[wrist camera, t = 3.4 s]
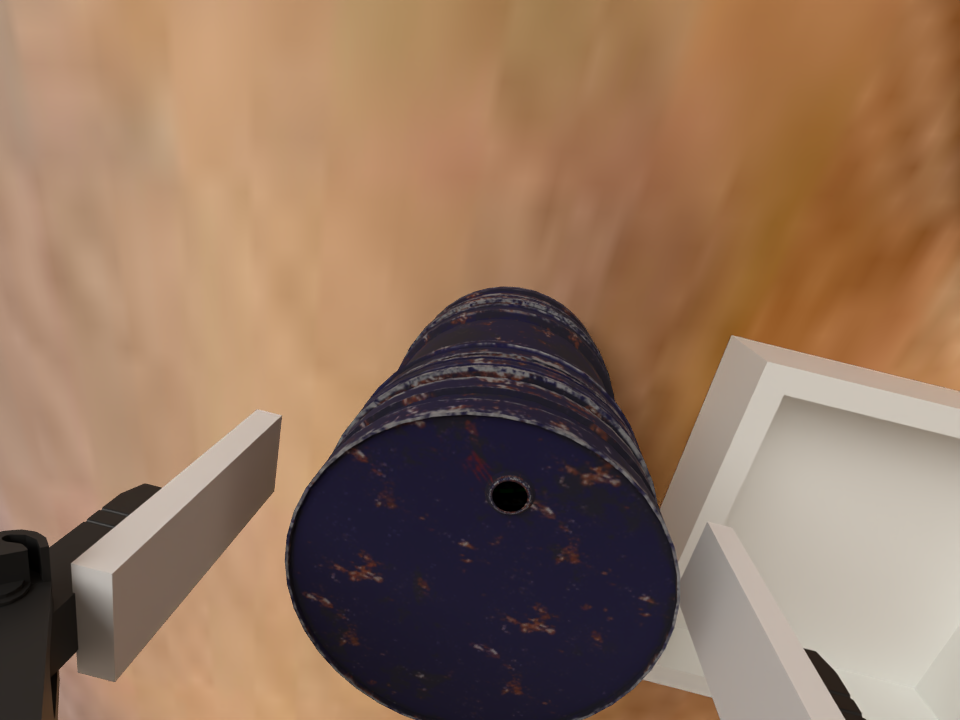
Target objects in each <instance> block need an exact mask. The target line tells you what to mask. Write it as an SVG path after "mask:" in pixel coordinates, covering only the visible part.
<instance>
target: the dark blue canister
mask: <svg viewBox="0 0 960 720" xmlns="http://www.w3.org/2000/svg"><path fill="white" fill-rule="evenodd" d="M285 568H286V578H287V586H288V589H289V593H290V596H291V600H292V603H293V607H294V610H295V612H296V614H297V616H298V618H299V620H300V622H301V624H302V626H303V629H304V631H305V632H306V634H307V635H308V637H309V638H310V640H311V641H312V643H313V644H314V646H315V647H316V649H317V650H318V652H319V653H320V654H321V655H322V656H323V657H324V658H325V659H326V661H327V662H328V663H329V664H330V665H331V666H332V667H333V668H334V669H335V671H336V672H338V673H339V674H340V675H341V676H342V677H343V678H345V679H346V680H347V681H348V682H349V683H351V684H352V685H353V686H354V687H355V688H356V689H358V690H360V691H361V692H363V693H364V694H366V695H367V696H369V697H370V698H372V699H373V700H375V701H376V702H378V703H379V704H381V705H383V706H385V707H387V708H389V709H391V710H393V711H395V712H397V713H399V714H401V715H404V716H406V717H409V718H412V719H415V720H583V719H585V718H588V717H590V716H592V715H594V714H596V713H598V712H600V711H601V710H603V709H605V708H607V707H609V706H611V705H613V704H614V703H615V702H617V701H618V700H619V699H621V698H622V697H623V696H625V695H626V694H627V693H629V692H630V691H631V690H633V689H634V688H635V687H636V686H637V685H638V684H639V683H640V682H641V681H642V679H643V678H644V677H645V676H646V675H647V674H648V673H649V672H650V671H651V670H652V668H653V667H654V665H655V664H656V662H657V661H658V659H659V658H660V656H661V655H662V653H663V652H664V650H665V649H666V646H667V644H668V642H669V639H670V637H671V634H672V632H673V630H674V627H675V624H676V619H677V614H678V609H679V604H680V571H679V566H678V561H677V556H676V551H675V547H674V544H673V542H672V539H671V537H670V534H669V532H668V529H667V527H666V524H665V522H664V519H663V517H662V514H661V512H660V509H659V507H658V504H657V499H656V494H655V489H654V484H653V481H652V479H651V476H650V474H649V471H648V469H647V466H646V464H645V461H644V459H643V457H642V454H641V452H640V449H639V446H638V443H637V441H636V438H635V436H634V433H633V431H632V428H631V426H630V424H629V422H628V421H627V419H626V417H625V416H624V414H623V413H622V411H621V409H620V408H619V406H618V405H617V404H616V402H615V399H614V394H613V390H612V386H611V382H610V378H609V374H608V371H607V369H606V366H605V364H604V361H603V359H602V356H601V354H600V352H599V350H598V349H597V347H596V345H595V344H594V342H593V340H592V339H591V336H590V335H589V333H588V332H587V330H586V328H585V327H584V325H583V324H582V323H581V322H580V320H579V319H578V318H577V317H576V316H575V315H574V314H573V313H572V312H571V311H570V310H568V309H567V308H566V307H565V306H564V305H562V304H561V303H559V302H557V301H556V300H554V299H552V298H551V297H549V296H546V295H544V294H541V293H539V292H536V291H533V290H528V289H524V288H519V287H495V288H487V289H483V290H479V291H476V292H473V293H470V294H468V295H466V296H464V297H461V298H459V299H458V300H456V301H455V302H453V303H452V304H450V305H449V306H447V307H446V308H445V309H444V310H443V311H442V312H441V313H440V314H439V315H437V317H436V318H435V319H434V320H433V321H432V322H431V323H430V324H428V325H427V326H426V327H425V328H424V330H423V331H422V332H421V334H420V335H419V336H418V337H417V339H416V340H415V341H414V343H413V344H412V345H411V347H410V348H409V350H408V352H407V354H406V356H405V358H404V359H403V361H402V363H401V365H400V367H399V369H398V371H397V372H395V373H394V374H393V375H392V376H391V377H389V378H388V379H387V380H386V381H385V382H384V383H383V384H382V385H381V386H380V387H378V389H377V390H376V391H375V393H374V394H373V395H372V396H371V398H370V399H369V400H368V401H367V403H366V404H365V406H364V407H363V409H362V410H361V411H360V412H359V414H358V415H357V416H356V418H355V419H354V420H353V421H352V423H351V424H350V425H349V427H348V428H347V429H346V430H345V432H344V433H343V434H342V436H341V438H340V440H339V442H338V444H337V445H336V447H335V449H334V451H333V453H332V454H331V456H330V457H329V459H328V460H327V461H326V463H325V464H324V465H323V467H322V468H321V469H320V470H319V472H318V473H317V474H316V476H315V477H314V478H313V479H312V481H311V482H310V483H309V485H308V486H307V487H306V489H305V491H304V493H303V495H302V497H301V499H300V501H299V502H298V504H297V506H296V508H295V510H294V513H293V516H292V520H291V523H290V527H289V530H288V534H287V540H286V552H285Z"/></svg>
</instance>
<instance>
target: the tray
mask: <svg viewBox="0 0 960 720" xmlns="http://www.w3.org/2000/svg"><path fill="white" fill-rule="evenodd" d="M660 512H661V514H662V517H663V519H664V522H665V524H666V527H667V529H668V532H669V534H670V537H671V539H672V542H673V544H674V547H675V551H676V556H677V561H678V566H679V571H680V580H681V578H682V576H683V573H684V571H685V569H686V567H687V565H688V563H689V560H690V558H691V556H692V554H693V552H694V549H695V547H696V545H697V543H698V541H699V539H700V536H701V534H702V532H703V530H704V528H705V526H706V523H707V522H711V523H715V524H719V525H723V526H727V527H731V528H733V530H734V531H735V533H736V535H737V536H738V538H739V540H740V541H741V543H742V545H743V547H744V548H745V550H746V552H747V553H748V555H749V557H750V558H751V560H752V562H753V564H754V565H755V567H756V569H757V570H758V572H759V574H760V575H761V577H762V579H763V581H764V582H765V584H766V586H767V587H768V589H769V591H770V592H771V594H772V596H773V598H774V599H775V601H776V603H777V604H778V606H779V608H780V609H781V611H782V613H783V615H784V616H785V618H786V620H787V621H788V623H789V625H790V626H791V628H792V630H793V632H794V633H795V635H796V637H797V638H798V640H799V642H800V643H801V645H802V647H803V648H805V649H809V650H813V651H816V652H817V653H818V654H819V655H820V656H821V657H822V658H823V659H824V660H825V661H826V662H827V663H828V664H829V665H830V666H831V667H832V668H833V670H834V671H835V672H836V673H837V674H838V676H839V677H840V679H841V681H842V682H843V684H844V685H845V687H846V689H847V690H848V692H849V693H850V698H851V699H853V700H854V701H855V703H856V705H857V706H858V708H859V709H860V711H861V713H862V718H865V719H866V720H960V391H956V390H952V389H948V388H944V387H940V386H936V385H932V384H927V383H923V382H919V381H915V380H911V379H907V378H903V377H899V376H895V375H891V374H887V373H883V372H879V371H875V370H871V369H867V368H862V367H858V366H854V365H850V364H846V363H842V362H838V361H834V360H830V359H826V358H822V357H818V356H814V355H810V354H806V353H802V352H798V351H793V350H789V349H785V348H781V347H777V346H773V345H769V344H765V343H761V342H757V341H753V340H749V339H745V338H741V337H737V336H733V335H731V338H730V340H729V343H728V345H727V348H726V350H725V352H724V355H723V357H722V360H721V362H720V365H719V367H718V369H717V372H716V374H715V377H714V379H713V381H712V384H711V386H710V389H709V391H708V394H707V396H706V398H705V401H704V403H703V406H702V408H701V411H700V413H699V415H698V418H697V420H696V423H695V425H694V428H693V430H692V432H691V435H690V437H689V440H688V442H687V445H686V447H685V449H684V452H683V454H682V457H681V459H680V462H679V464H678V466H677V469H676V471H675V474H674V476H673V479H672V481H671V483H670V486H669V488H668V491H667V493H666V496H665V498H664V500H663V503H662V505H661V508H660ZM643 680H646V681H650V682H654V683H658V684H662V685H666V686H669V687H673V688H677V689H681V690H685V691H689V692H692V693H696V694H700V695H704V696H708V697H712V695H711V692H710V689H709V687H708V684H707V681H706V678H705V675H704V672H703V670H702V667H701V664H700V661H699V658H698V656H697V653H696V650H695V647H694V644H693V641H692V639H691V636H690V633H689V630H688V627H687V625H686V622H685V619H684V616H683V613H682V610H681V608H680V605H679V609H678V614H677V619H676V624H675V627H674V630H673V632H672V634H671V637H670V639H669V642H668V644H667V646H666V649H665V650H664V652H663V653H662V655H661V656H660V658H659V659H658V661H657V662H656V664H655V665H654V667H653V668H652V670H651V671H650V672H649V673H648V674H647V675H646V676H645V677H644V678H643Z"/></svg>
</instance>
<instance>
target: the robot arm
mask: <svg viewBox="0 0 960 720" xmlns="http://www.w3.org/2000/svg"><path fill="white" fill-rule="evenodd" d="M281 420H282V415H279V414H275V413H271V412H267V411H263V410H259V409H257V410H256V411H255V412H253V413H252V414H251V415H250V416H249V417H247V418H246V419H245V420H244V421H243V422H241V423H240V424H239V425H238V426H237V427H235V428H234V429H233V430H232V431H230V432H229V433H228V434H227V435H226V436H224V437H223V438H222V439H221V440H220V441H218V442H217V443H216V444H215V445H214V446H212V447H211V448H210V449H209V450H207V451H206V452H205V453H204V454H203V455H201V456H200V457H199V458H198V459H197V460H195V461H194V462H193V463H192V464H191V465H189V466H188V467H187V468H186V469H184V470H183V471H182V472H181V473H180V474H178V475H177V476H176V477H175V478H174V479H172V480H171V481H170V482H169V483H168V484H166V485H165V486H164V487H163V488H161V487H157V486H153V485H149V484H142V485H140V486H138V487H135V488H133V489H130V490H128V491H126V492H123V493H121V494H120V495H118V496H117V497H116V498H114V499H113V500H112V501H110V502H109V503H108V504H106V505H105V506H104V507H103V508H102V510H98V511H97V512H96V513H94V514H93V515H92V516H91V517H89V518H88V519H87V521H86V522H83V523H81V524H80V525H79V526H77V527H76V528H75V529H73V530H72V531H71V532H69V533H68V534H67V535H65V536H64V537H63V538H61V539H60V540H59V541H57V542H56V543H55V544H54V545H52V546H51V547H50V548H49V545H48V542H47V539H46V537H44V536H43V535H41V534H39V533H38V532H34V531H28V530H10V531H2V532H0V720H58V702H59V681H60V679H59V669H60V668H61V667H62V666H63V665H64V664H65V663H66V662H67V661H68V660H69V659H70V658H71V657H72V656H73V655H74V654H75V652H77V668H78V673H82V674H86V675H90V676H93V677H97V678H101V679H105V680H109V681H113V682H116V680H117V679H118V678H119V677H120V676H121V674H122V673H123V672H124V671H125V670H126V668H127V667H128V666H129V665H130V664H131V662H132V661H133V660H134V659H135V658H136V656H137V655H138V654H139V653H140V652H141V650H142V649H143V648H144V647H145V646H146V644H147V643H148V642H149V641H150V640H151V638H152V637H153V636H154V635H155V634H156V632H157V631H158V630H159V629H160V628H161V626H162V625H163V624H164V623H165V622H166V620H167V619H168V618H169V617H170V616H171V614H172V613H173V612H174V611H175V610H176V608H177V607H178V606H179V605H180V604H181V602H182V601H183V600H184V599H185V598H186V596H187V595H188V594H189V593H190V592H191V590H192V589H193V588H194V587H195V586H196V584H197V583H198V582H199V581H200V580H201V578H202V577H203V576H204V575H205V574H206V572H207V571H208V570H209V569H210V568H211V566H212V565H213V564H214V563H215V562H216V560H217V559H218V558H219V557H220V556H221V554H222V553H223V552H224V551H225V550H226V548H227V547H228V546H229V545H230V544H231V542H232V541H233V540H234V539H235V538H236V536H237V535H238V534H239V533H240V532H241V530H242V529H243V528H244V527H245V526H246V524H247V523H248V522H249V521H250V520H251V518H252V517H253V516H254V515H255V514H256V512H257V511H258V510H259V509H260V508H261V506H262V505H263V504H264V503H265V502H266V500H267V499H268V498H269V497H270V496H271V494H272V493H273V492H274V488H275V478H276V468H277V459H278V449H279V439H280V430H281ZM679 605H680V608H681V610H682V613H683V616H684V619H685V622H686V625H687V627H688V630H689V633H690V636H691V639H692V641H693V644H694V647H695V650H696V653H697V656H698V658H699V661H700V664H701V667H702V670H703V672H704V675H705V678H706V681H707V684H708V687H709V689H710V692H711V695H712V698H713V701H714V703H715V706H716V709H717V712H718V715H719V718H720V720H866V719H865V718H862V713H861V711H860V709H859V708H858V706H857V705H856V703H855V701H854V700H853V699H851V698H850V693H849V692H848V690H847V689H846V687H845V685H844V684H843V682H842V681H841V679H840V677H839V676H838V674H837V673H836V672H835V671H834V670H833V668H832V667H831V666H830V665H829V664H828V663H827V662H826V661H825V660H824V659H823V658H822V657H821V656H820V655H819V654H818V653H817V652H816V651H813V650H809V649H805V648H803V647H802V645H801V643H800V642H799V640H798V638H797V637H796V635H795V633H794V632H793V630H792V628H791V626H790V625H789V623H788V621H787V620H786V618H785V616H784V615H783V613H782V611H781V609H780V608H779V606H778V604H777V603H776V601H775V599H774V598H773V596H772V594H771V592H770V591H769V589H768V587H767V586H766V584H765V582H764V581H763V579H762V577H761V575H760V574H759V572H758V570H757V569H756V567H755V565H754V564H753V562H752V560H751V558H750V557H749V555H748V553H747V552H746V550H745V548H744V547H743V545H742V543H741V541H740V540H739V538H738V536H737V535H736V533H735V531H734V530H733V528H731V527H727V526H723V525H719V524H715V523H711V522H707V523H706V526H705V528H704V530H703V532H702V534H701V536H700V539H699V541H698V543H697V545H696V547H695V549H694V552H693V554H692V556H691V558H690V560H689V563H688V565H687V567H686V569H685V571H684V573H683V576H682V578H681V580H680V604H679Z"/></svg>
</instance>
